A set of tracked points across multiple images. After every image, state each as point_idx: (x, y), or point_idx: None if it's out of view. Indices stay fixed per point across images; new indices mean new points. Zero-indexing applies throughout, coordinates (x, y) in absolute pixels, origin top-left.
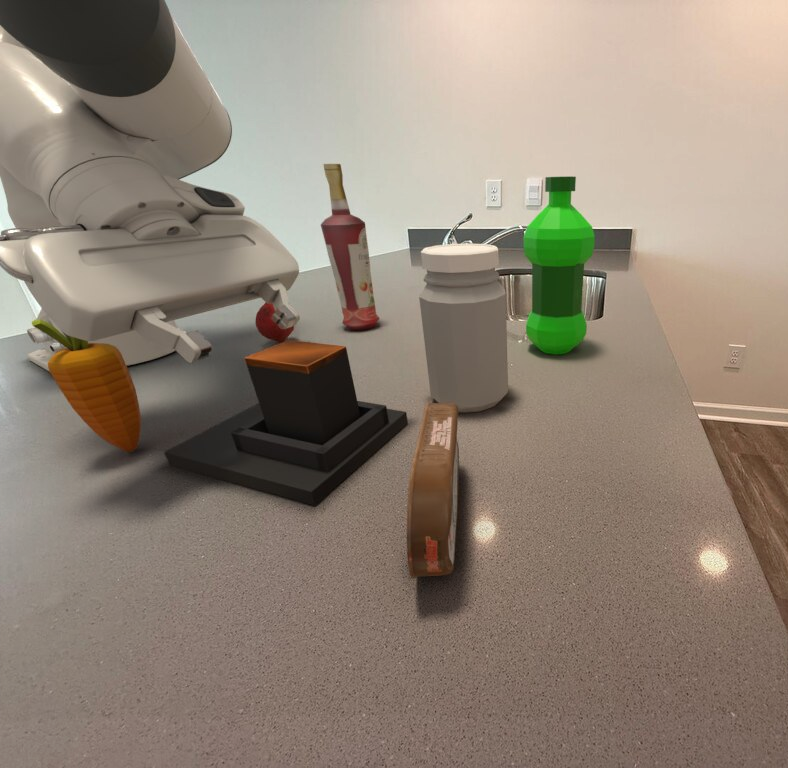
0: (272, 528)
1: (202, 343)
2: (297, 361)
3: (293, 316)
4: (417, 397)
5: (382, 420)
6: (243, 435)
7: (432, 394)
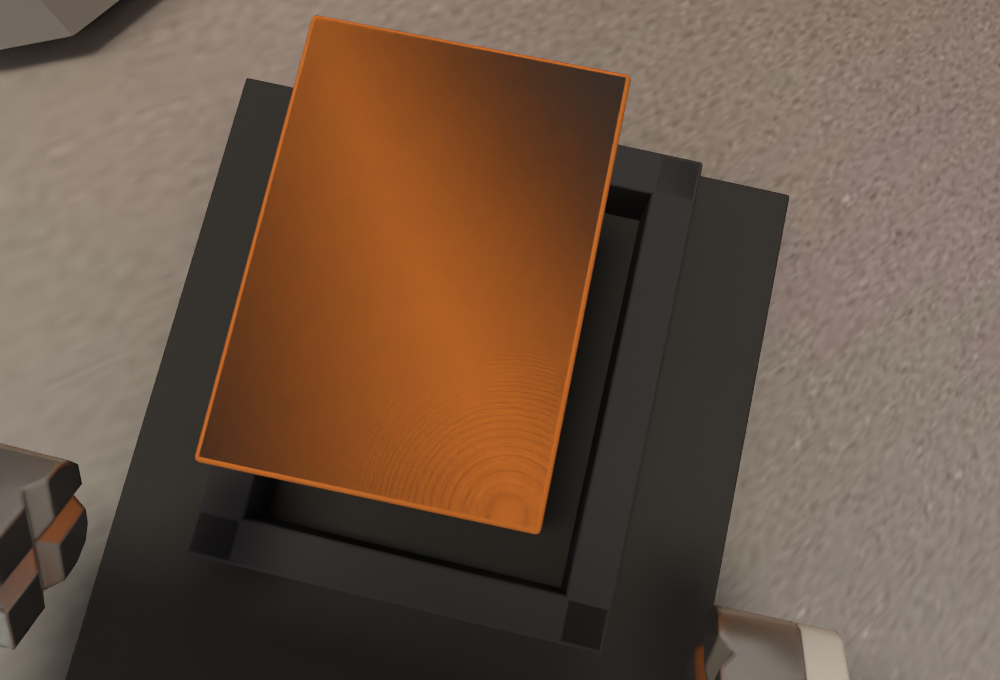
0: (880, 289)
1: (764, 635)
2: (575, 159)
3: (2, 451)
4: (23, 139)
5: None
6: (617, 574)
7: (83, 14)
